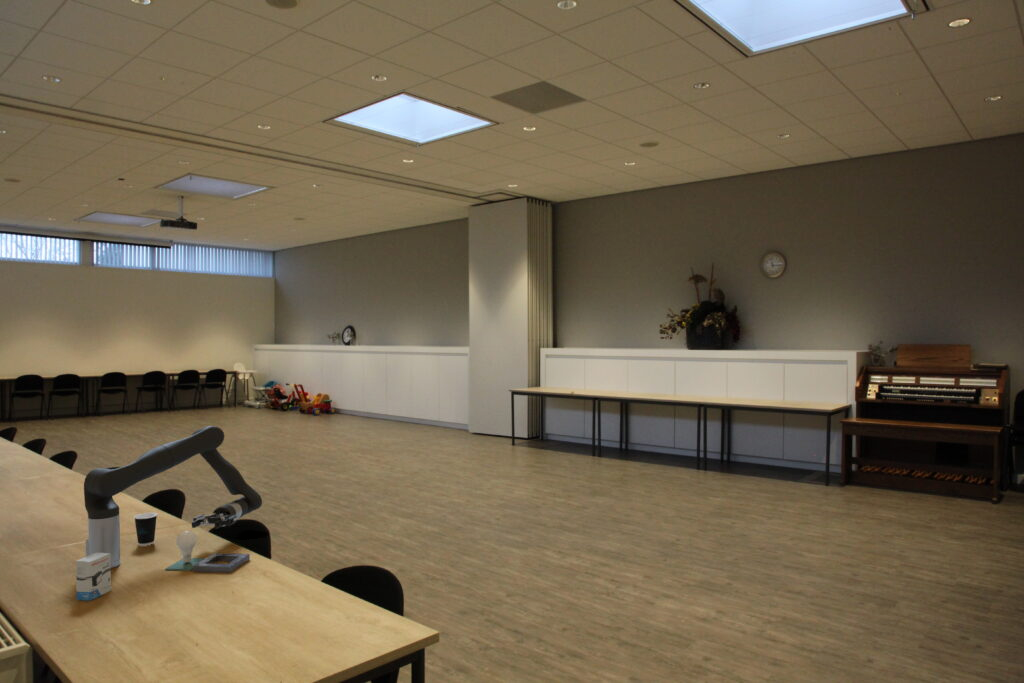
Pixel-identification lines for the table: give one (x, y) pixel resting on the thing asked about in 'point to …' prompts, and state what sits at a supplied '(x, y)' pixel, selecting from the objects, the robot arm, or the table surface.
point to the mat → (185, 565)
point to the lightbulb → (186, 544)
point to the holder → (209, 565)
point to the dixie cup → (145, 528)
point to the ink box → (93, 576)
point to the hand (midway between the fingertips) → (204, 525)
